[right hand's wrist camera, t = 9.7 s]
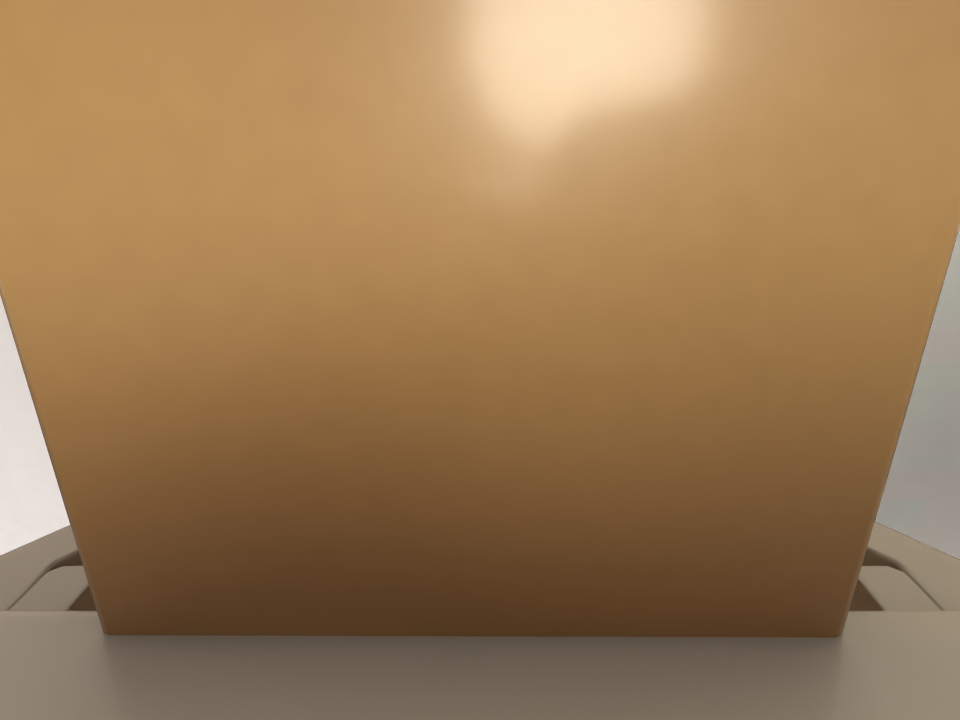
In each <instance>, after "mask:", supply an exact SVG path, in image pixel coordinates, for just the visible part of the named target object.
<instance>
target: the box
mask: <svg viewBox="0 0 960 720" xmlns="http://www.w3.org/2000/svg"><path fill="white" fill-rule="evenodd" d="M959 227H960V0H0V295H1V298H2V301H3V305H4V308H5V311H6V315H7V318H8V321H9V324H10V328H11V331H12V334H13V338H14V341H15V344H16V347H17V351H18V354H19V357H20V361H21V364H22V367H23V370H24V374H25V377H26V380H27V384H28V387H29V390H30V393H31V397H32V400H33V403H34V407H35V410H36V413H37V416H38V420H39V423H40V426H41V430H42V433H43V436H44V439H45V443H46V446H47V449H48V453H49V456H50V459H51V462H52V466H53V469H54V472H55V476H56V479H57V482H58V485H59V489H60V492H61V495H62V499H63V502H64V505H65V508H66V512H67V515H68V518H69V522H70V525H71V528H72V531H73V535H74V538H75V541H76V545H77V548H78V551H79V554H80V558H81V561H82V564H83V568H84V571H85V574H86V577H87V581H88V584H89V587H90V591H91V594H92V597H93V600H94V604H95V607H96V610H97V614H98V617H99V620H100V623H101V627H102V630H103V633H105V634H108V635H196V636H526V637H838V636H841V635H842V633H843V629H844V626H845V622H846V619H847V615H848V612H849V609H850V605H851V602H852V598H853V595H854V591H855V588H856V584H857V581H858V577H859V574H860V570H861V567H862V563H863V560H864V557H865V553H866V550H867V546H868V543H869V539H870V536H871V532H872V529H873V525H874V522H875V518H876V515H877V511H878V508H879V505H880V501H881V498H882V494H883V491H884V487H885V484H886V480H887V477H888V473H889V470H890V466H891V463H892V459H893V456H894V453H895V449H896V446H897V442H898V439H899V435H900V432H901V428H902V425H903V421H904V418H905V414H906V411H907V407H908V404H909V401H910V397H911V394H912V390H913V387H914V383H915V380H916V376H917V373H918V369H919V366H920V362H921V359H922V355H923V352H924V349H925V345H926V342H927V338H928V335H929V331H930V328H931V324H932V321H933V317H934V314H935V310H936V307H937V303H938V300H939V296H940V293H941V290H942V286H943V283H944V279H945V276H946V272H947V269H948V265H949V262H950V258H951V255H952V251H953V248H954V244H955V241H956V238H957V234H958V231H959Z"/></svg>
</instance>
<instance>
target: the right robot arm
mask: <svg viewBox="0 0 960 720" xmlns="http://www.w3.org/2000/svg"><path fill="white" fill-rule="evenodd" d="M0 720H960V560H959V559H957V558H955V557H953V556H950V555H948V554H946V553H944V552H941V551H939V550H937V549H935V548H932V547H930V546H928V545H926V544H924V543H921V542H919V541H917V540H915V539H912V538H910V537H908V536H906V535H903V534H901V533H899V532H897V531H894V530H892V529H890V528H888V527H885V526H883V525H881V524H879V523H876V522H874V525H873V529H872V532H871V536H870V539H869V543H868V546H867V550H866V553H865V557H864V560H863V563H862V567H861V570H860V574H859V577H858V581H857V584H856V588H855V591H854V595H853V598H852V602H851V605H850V609H849V612H848V615H847V619H846V622H845V626H844V629H843V633H842V635H841V636H838V637H526V636H196V635H108V634H105V633H103V630H102V627H101V623H100V620H99V617H98V614H97V610H96V607H95V604H94V600H93V597H92V594H91V591H90V587H89V584H88V581H87V577H86V574H85V571H84V568H83V564H82V561H81V558H80V554H79V551H78V548H77V545H76V541H75V538H74V535H73V531H72V528H71V525H69V526H67V527H64V528H62V529H60V530H58V531H55V532H53V533H51V534H49V535H46V536H44V537H42V538H39V539H37V540H35V541H33V542H30V543H28V544H26V545H24V546H21V547H19V548H17V549H14V550H12V551H10V552H8V553H5V554H3V555H1V556H0Z"/></svg>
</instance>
